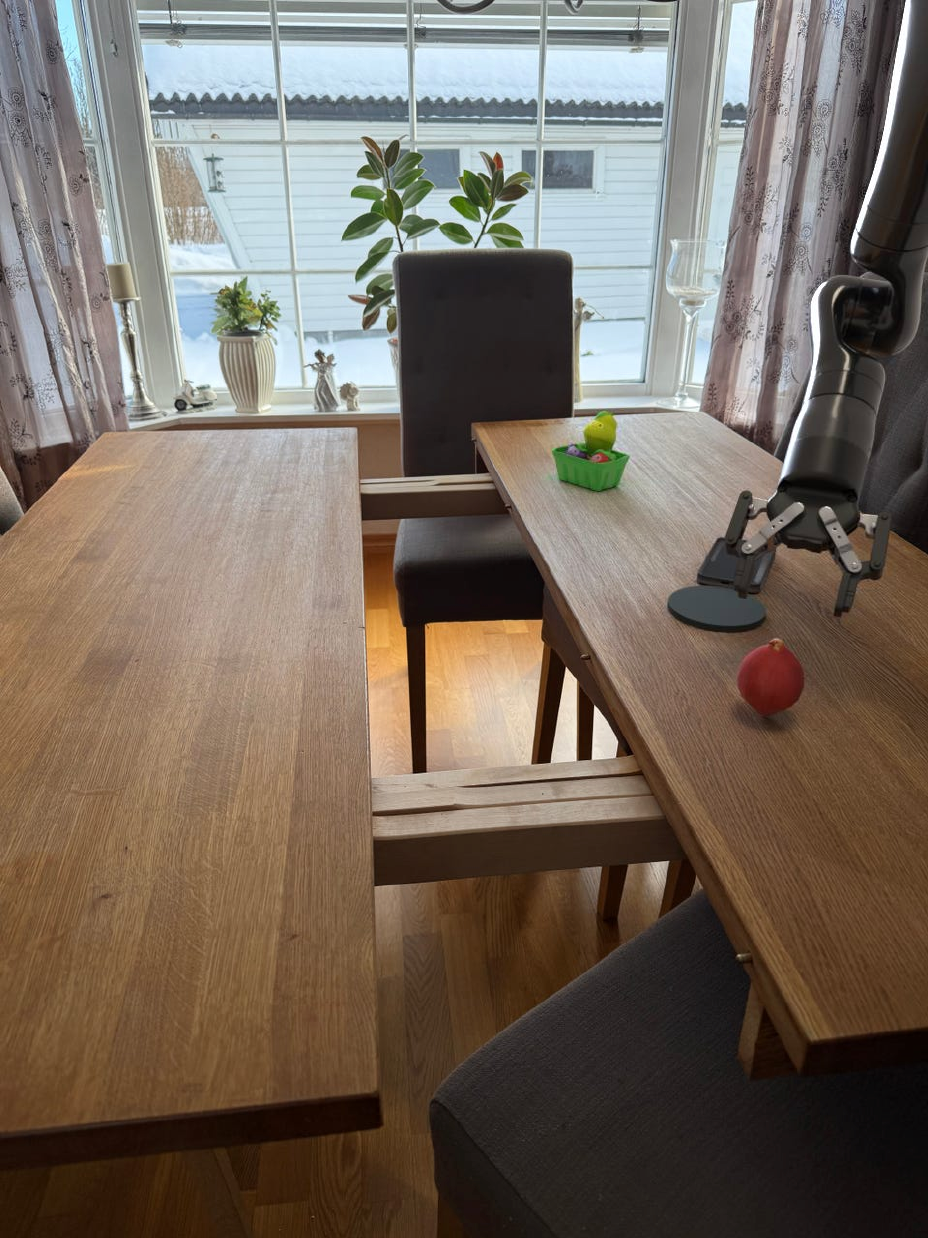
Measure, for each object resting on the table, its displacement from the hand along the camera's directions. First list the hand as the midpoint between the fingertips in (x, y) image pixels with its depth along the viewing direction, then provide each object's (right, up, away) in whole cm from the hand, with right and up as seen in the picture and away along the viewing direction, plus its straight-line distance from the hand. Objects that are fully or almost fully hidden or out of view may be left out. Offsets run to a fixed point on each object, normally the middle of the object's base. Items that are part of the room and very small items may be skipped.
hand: (788, 604), depth 82 cm
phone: (+5, +5, +32) cm, 33 cm away
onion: (-2, -10, 0) cm, 11 cm away
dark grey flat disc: (-1, 0, +20) cm, 20 cm away
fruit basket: (-9, +21, +65) cm, 69 cm away
